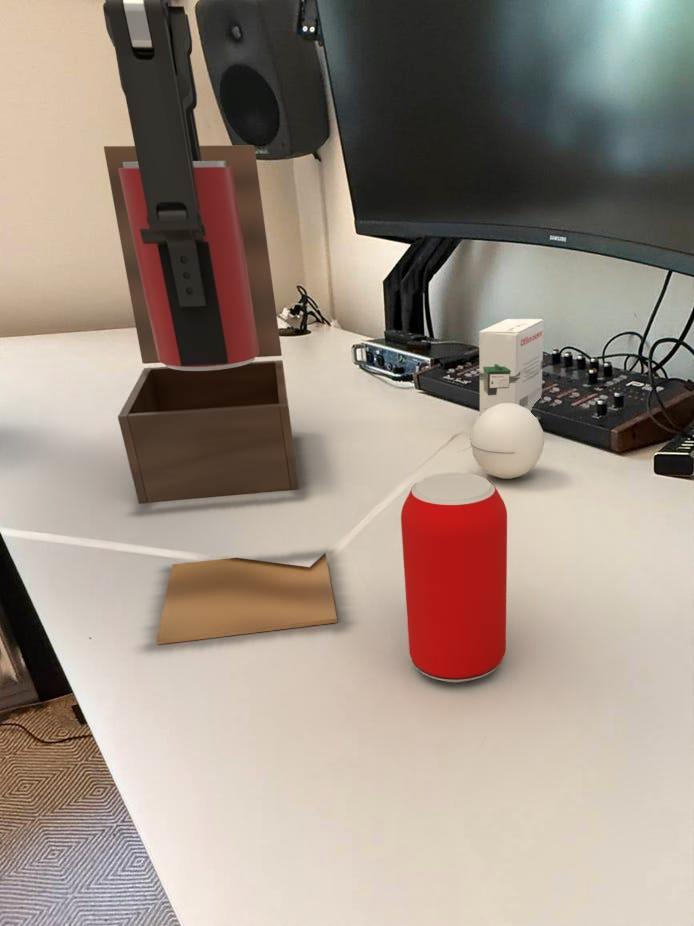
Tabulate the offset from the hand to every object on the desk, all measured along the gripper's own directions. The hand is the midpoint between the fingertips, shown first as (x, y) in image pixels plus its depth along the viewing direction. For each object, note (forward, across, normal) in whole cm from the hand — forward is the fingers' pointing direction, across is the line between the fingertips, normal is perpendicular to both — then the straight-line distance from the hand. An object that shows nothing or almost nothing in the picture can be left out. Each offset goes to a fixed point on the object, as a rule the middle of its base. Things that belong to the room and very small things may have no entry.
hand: (207, 351), depth 51 cm
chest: (+17, +29, +3) cm, 34 cm away
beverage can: (+18, -13, -13) cm, 26 cm away
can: (+1, 0, 0) cm, 1 cm away
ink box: (+18, +37, -30) cm, 51 cm away
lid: (-2, +41, +3) cm, 41 cm away
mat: (+17, 0, 0) cm, 17 cm away
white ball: (+18, +20, -24) cm, 36 cm away
